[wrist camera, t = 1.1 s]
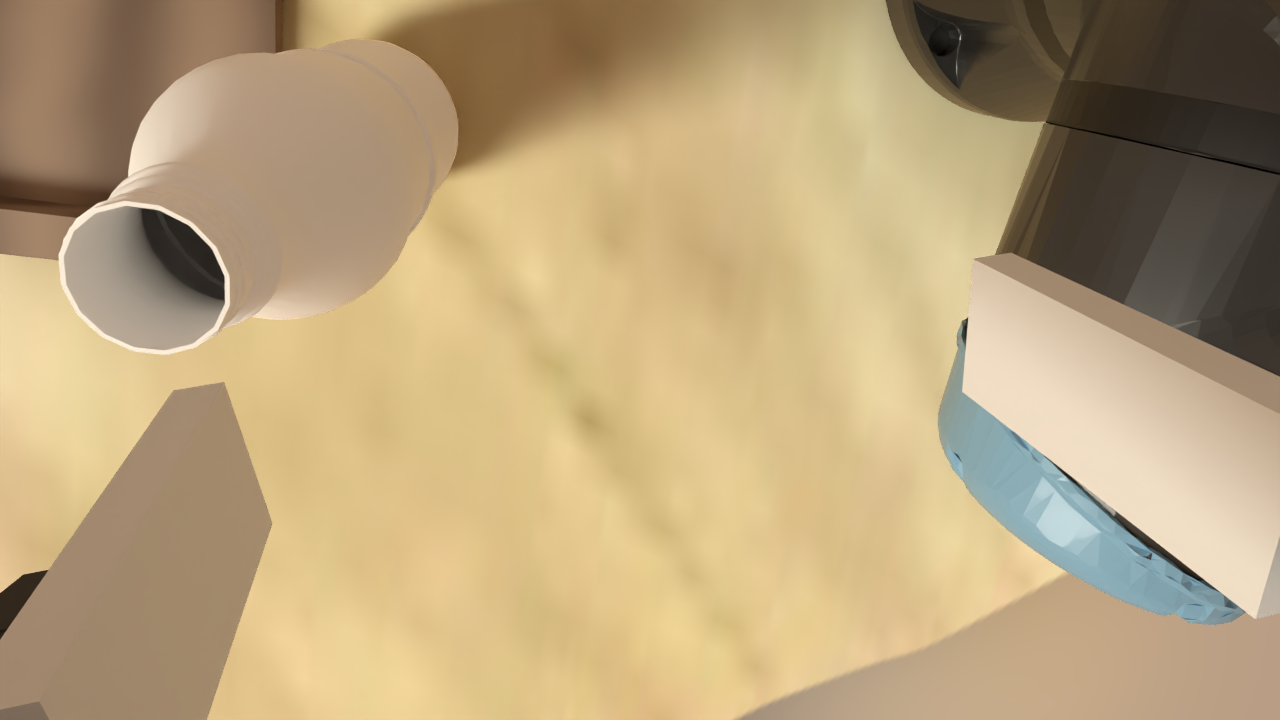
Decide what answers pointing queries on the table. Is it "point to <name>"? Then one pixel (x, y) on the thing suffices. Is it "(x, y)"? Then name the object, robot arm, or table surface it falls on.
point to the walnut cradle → (96, 96)
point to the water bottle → (262, 193)
